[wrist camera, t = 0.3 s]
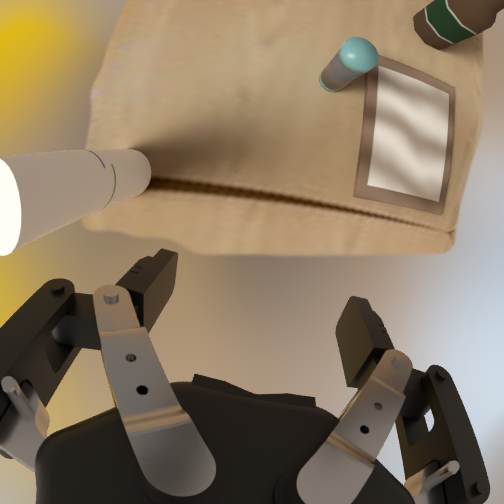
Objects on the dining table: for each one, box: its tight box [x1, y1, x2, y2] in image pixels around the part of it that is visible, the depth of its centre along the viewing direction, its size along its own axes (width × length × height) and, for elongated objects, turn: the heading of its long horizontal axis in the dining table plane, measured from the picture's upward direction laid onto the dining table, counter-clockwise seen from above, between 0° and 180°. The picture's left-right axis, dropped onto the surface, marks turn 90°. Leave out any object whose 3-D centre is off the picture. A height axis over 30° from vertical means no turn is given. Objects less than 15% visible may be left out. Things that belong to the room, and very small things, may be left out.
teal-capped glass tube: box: [319, 37, 379, 92], centre depth 26 cm, size 4×4×12 cm
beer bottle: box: [413, 0, 504, 50], centre depth 15 cm, size 8×8×24 cm
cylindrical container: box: [0, 149, 151, 256], centre depth 25 cm, size 7×7×25 cm
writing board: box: [353, 55, 454, 216], centre depth 33 cm, size 22×16×1 cm
